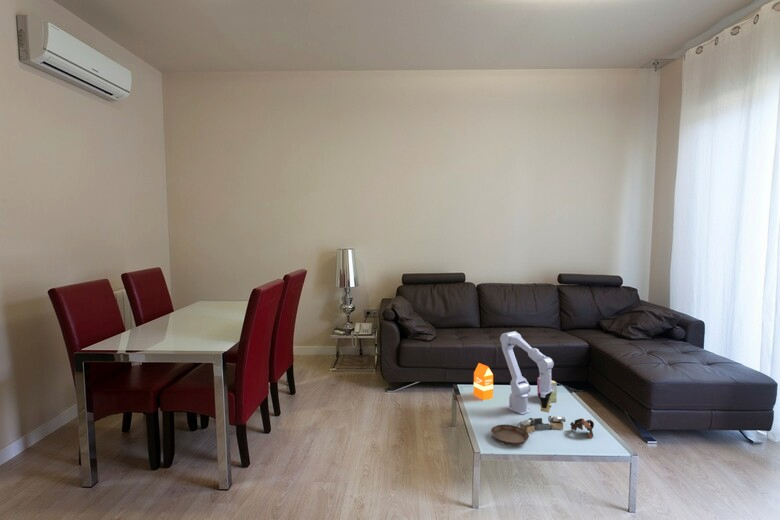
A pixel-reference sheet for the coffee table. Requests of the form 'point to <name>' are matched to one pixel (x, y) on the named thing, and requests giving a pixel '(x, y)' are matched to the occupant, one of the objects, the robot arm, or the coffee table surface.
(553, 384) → the box
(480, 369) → the orange juice
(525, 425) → the shaft
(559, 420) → the shaft
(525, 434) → the plant saucer
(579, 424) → the pottery mug
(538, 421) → the cradle
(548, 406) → the block
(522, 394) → the robot arm
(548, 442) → the coffee table surface
